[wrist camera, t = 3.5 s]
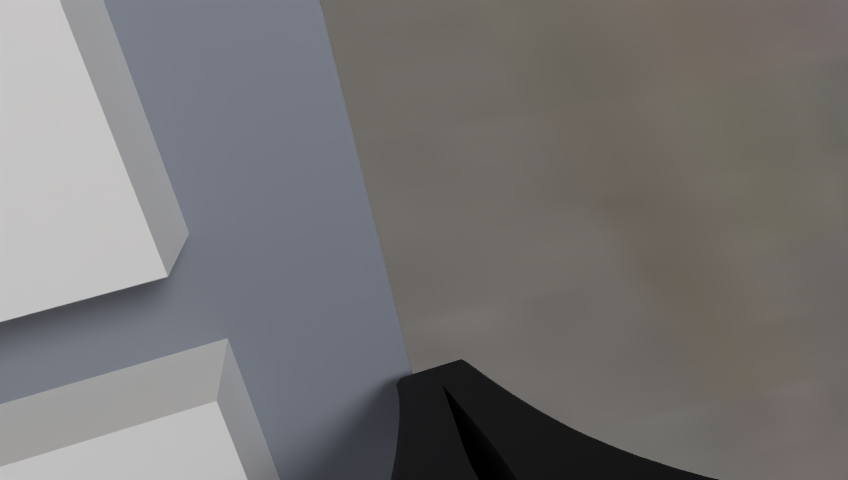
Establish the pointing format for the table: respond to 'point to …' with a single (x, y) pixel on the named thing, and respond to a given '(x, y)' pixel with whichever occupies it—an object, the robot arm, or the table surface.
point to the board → (248, 239)
